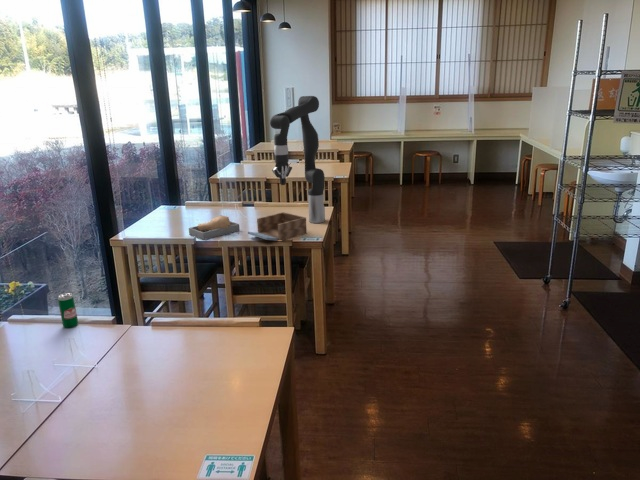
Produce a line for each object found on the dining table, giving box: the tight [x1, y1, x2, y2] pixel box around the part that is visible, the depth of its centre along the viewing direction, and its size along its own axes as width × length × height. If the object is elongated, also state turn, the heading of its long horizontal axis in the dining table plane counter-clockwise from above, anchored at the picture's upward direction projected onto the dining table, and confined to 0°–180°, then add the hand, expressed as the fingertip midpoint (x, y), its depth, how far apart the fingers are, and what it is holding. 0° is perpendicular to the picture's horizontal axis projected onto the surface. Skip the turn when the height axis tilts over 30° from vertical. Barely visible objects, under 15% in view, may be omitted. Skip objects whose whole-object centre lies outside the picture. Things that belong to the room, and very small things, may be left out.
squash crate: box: [188, 221, 241, 241], centre depth 292 cm, size 25×16×4 cm, turn 134°
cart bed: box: [256, 211, 308, 241], centre depth 285 cm, size 20×20×10 cm
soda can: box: [57, 292, 79, 329], centre depth 180 cm, size 5×5×12 cm
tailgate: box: [247, 231, 278, 241], centre depth 276 cm, size 1×17×8 cm
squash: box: [197, 215, 232, 232], centre depth 292 cm, size 11×20×9 cm, turn 86°
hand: (283, 184), depth 275 cm, fingers closed
